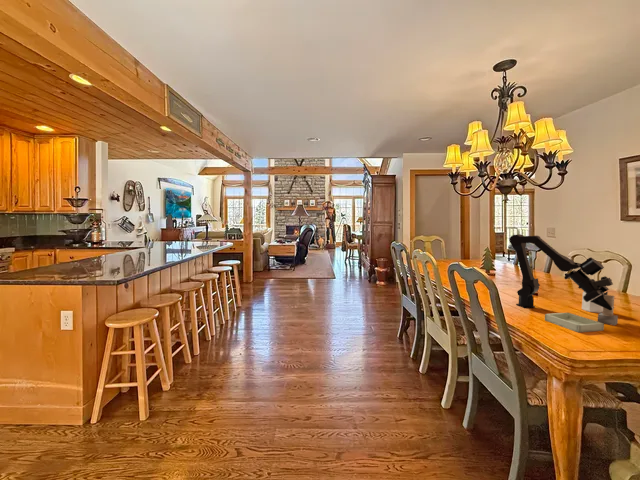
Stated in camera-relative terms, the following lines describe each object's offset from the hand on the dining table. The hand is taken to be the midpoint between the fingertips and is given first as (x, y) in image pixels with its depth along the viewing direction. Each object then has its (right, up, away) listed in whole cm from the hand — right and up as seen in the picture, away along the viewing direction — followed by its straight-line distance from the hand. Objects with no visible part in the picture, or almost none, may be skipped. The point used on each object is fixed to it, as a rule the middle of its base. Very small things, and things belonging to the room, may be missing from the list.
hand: (612, 309), depth 144 cm
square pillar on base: (-1, -7, +2) cm, 7 cm away
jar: (+9, -5, +21) cm, 23 cm away
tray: (-20, -7, -2) cm, 21 cm away
